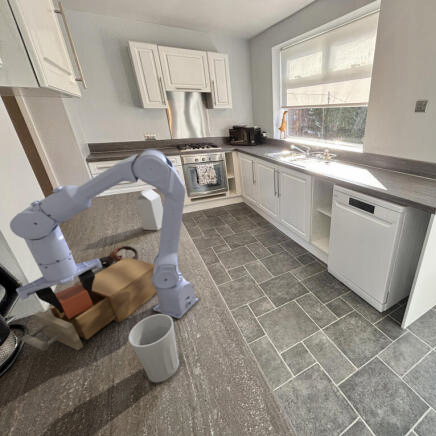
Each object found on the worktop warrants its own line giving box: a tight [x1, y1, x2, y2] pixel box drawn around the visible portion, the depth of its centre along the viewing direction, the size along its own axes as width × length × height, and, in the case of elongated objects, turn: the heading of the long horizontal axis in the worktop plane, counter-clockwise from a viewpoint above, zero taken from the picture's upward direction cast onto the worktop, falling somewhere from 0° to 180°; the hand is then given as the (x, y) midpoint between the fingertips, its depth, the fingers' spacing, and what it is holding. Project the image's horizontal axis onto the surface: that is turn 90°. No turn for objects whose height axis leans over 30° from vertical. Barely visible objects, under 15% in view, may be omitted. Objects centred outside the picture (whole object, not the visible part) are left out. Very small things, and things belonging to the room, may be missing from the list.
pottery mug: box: [98, 245, 139, 269], centre depth 86 cm, size 12×10×8 cm
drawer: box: [20, 293, 116, 351], centre depth 60 cm, size 18×11×7 cm, turn 161°
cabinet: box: [79, 256, 157, 323], centre depth 71 cm, size 15×13×9 cm
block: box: [55, 282, 93, 319], centre depth 59 cm, size 5×5×5 cm
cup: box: [128, 313, 180, 383], centre depth 51 cm, size 8×8×12 cm
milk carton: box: [135, 186, 164, 231], centre depth 112 cm, size 7×7×19 cm
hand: (75, 303), depth 59 cm, fingers closed on block, 5 cm apart
